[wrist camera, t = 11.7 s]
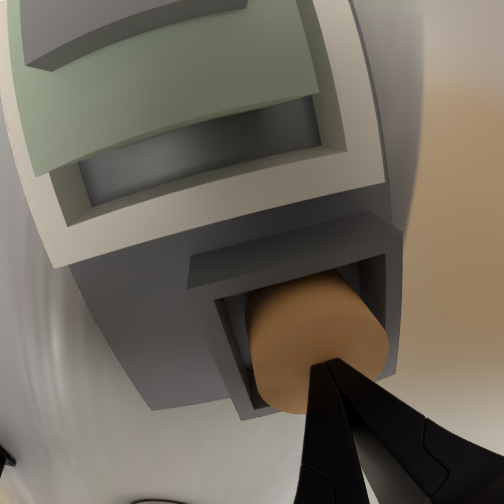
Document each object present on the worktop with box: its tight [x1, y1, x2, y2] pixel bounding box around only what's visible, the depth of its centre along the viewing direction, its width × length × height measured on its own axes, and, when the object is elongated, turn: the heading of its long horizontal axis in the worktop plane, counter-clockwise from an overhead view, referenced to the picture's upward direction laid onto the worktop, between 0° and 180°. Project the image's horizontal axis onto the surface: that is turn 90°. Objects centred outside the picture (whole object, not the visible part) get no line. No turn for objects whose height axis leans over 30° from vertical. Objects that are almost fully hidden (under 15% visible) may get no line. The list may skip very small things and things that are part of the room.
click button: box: [245, 268, 389, 414], centre depth 10 cm, size 4×4×3 cm
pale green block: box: [7, 0, 319, 177], centre depth 5 cm, size 6×4×6 cm
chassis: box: [0, 0, 402, 421], centre depth 8 cm, size 20×12×3 cm, turn 13°
